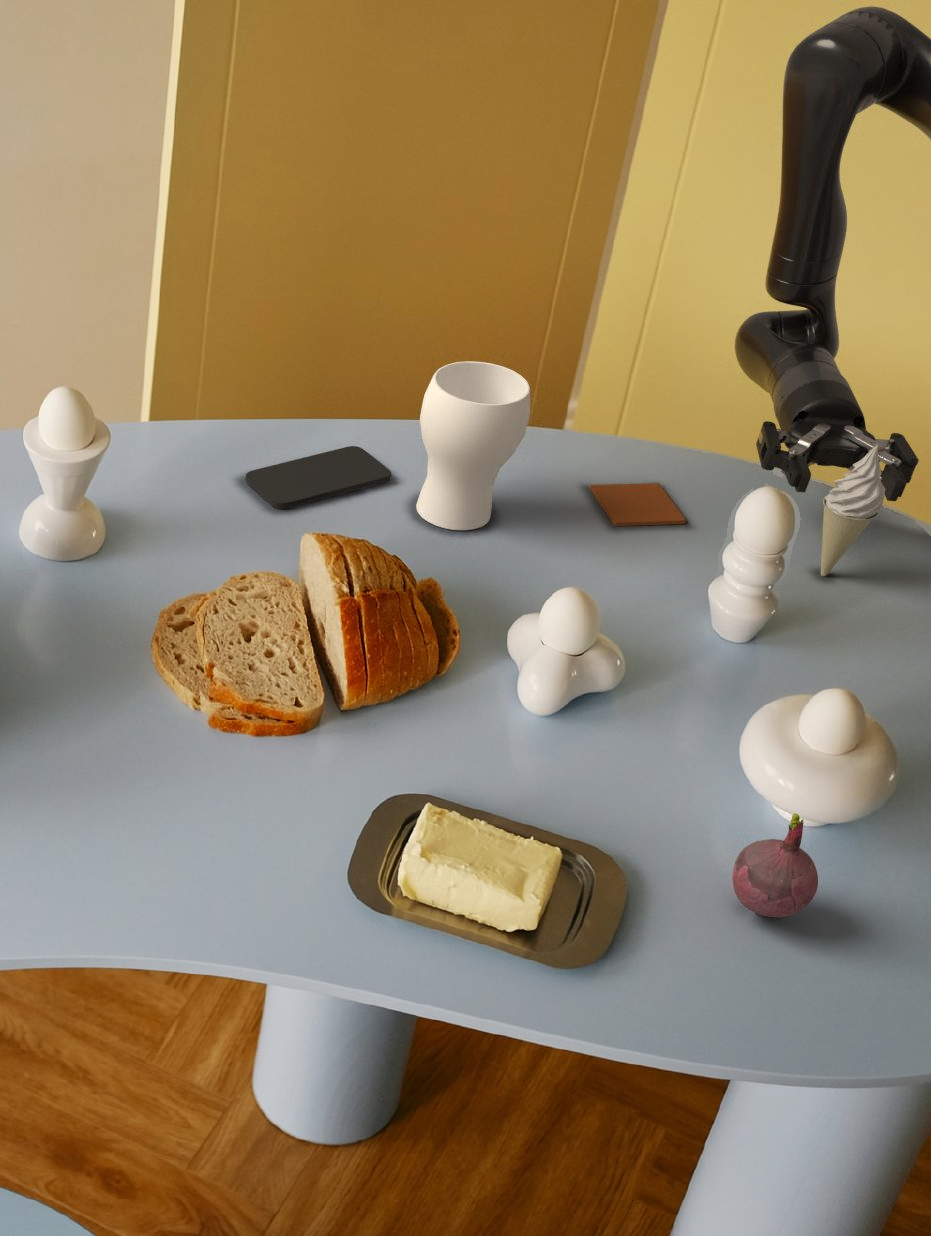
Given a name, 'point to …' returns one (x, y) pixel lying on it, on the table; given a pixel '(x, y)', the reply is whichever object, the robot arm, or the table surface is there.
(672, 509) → the cork mat
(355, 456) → the phone
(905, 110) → the robot arm
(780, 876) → the vegetable
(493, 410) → the cup
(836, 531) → the ice cream cone
